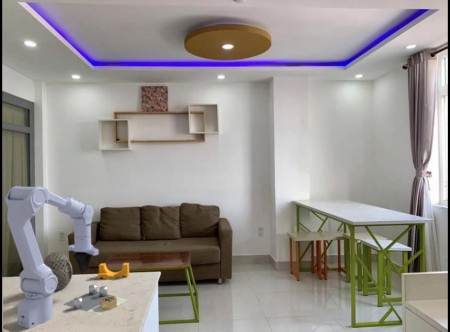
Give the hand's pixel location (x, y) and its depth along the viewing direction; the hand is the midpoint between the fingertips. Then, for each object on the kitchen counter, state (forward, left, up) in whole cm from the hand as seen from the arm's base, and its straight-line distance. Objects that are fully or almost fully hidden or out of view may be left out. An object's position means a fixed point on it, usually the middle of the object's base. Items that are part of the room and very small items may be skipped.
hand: (83, 271), depth 129 cm
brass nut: (-4, -17, -8) cm, 19 cm away
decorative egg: (-1, +15, -10) cm, 18 cm away
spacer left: (-9, -8, -8) cm, 15 cm away
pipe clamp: (+18, +3, -10) cm, 21 cm away
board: (-3, -10, -9) cm, 14 cm away
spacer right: (+2, -8, -8) cm, 12 cm away
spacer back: (+1, -3, -8) cm, 9 cm away
